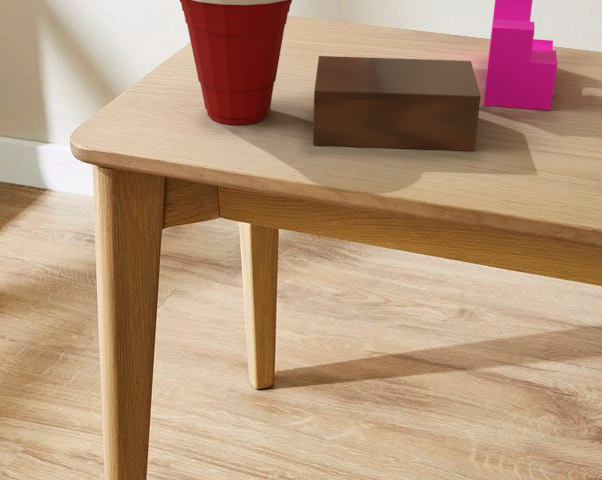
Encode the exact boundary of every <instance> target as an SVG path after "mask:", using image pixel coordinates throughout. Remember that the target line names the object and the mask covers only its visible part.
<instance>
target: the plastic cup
mask: <svg viewBox="0 0 602 480" xmlns="http://www.w3.org/2000/svg"><path fill="white" fill-rule="evenodd" d="M179 2H180V5H181V10H182V12H183V16H184V20H185V24H186V25H187V30H188V35H189V40H190V46H191V50H192V54H193V61H194V64H195V70H196V74H197V79H198V82H199V83H200V88H201V94H202V98H203V104H204V109H205V110H206V113H207V116H208V117H209V118H210V119H211V120H212V121H215V122H217V123H220V124H225V125H249V124H255V123H258V122H260V121H263V120H264V119H266V118H267V117H268V116H269V112H270V109H271V104H272V99H273V93H274V92H273V91H274V86H275V82H276V80H277V75H278V69H279V61H280V58H281V57H280V56H281V51H282V50H281V49H282V43H283V38H284V33H285V27H286V25H287V20H288V14H289V12H290V9H291V5H292V2H293V0H179Z"/></svg>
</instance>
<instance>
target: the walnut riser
mask: <svg viewBox="0 0 602 480" xmlns="http://www.w3.org/2000/svg"><path fill="white" fill-rule="evenodd" d="M473 67H474V66H473V64H472V60H453V59H425V58H423V59H422V58H395V57H394V58H393V57H391V58H390V57H366V56H365V57H362V56H361V57H359V56H333V55H332V56H331V55H319V56H318V57H317V66H316V75H315V83H314V89H313V122H312V123H313V127H312V130H313V133H312V145H313V146H326V147H327V146H330V147H331V146H333V147H354V148H355V147H357V148H358V147H359V148H385V149H408V150H409V149H413V150H439V151H465V152H468V151H469V152H475V148H476V147H475V146H476V141H477V140H476V139H477V138H476V137H477V132H478V123H479V114H480V105H481V98H482V97H481V93H480V89H479V86H478V82H477V78H476V74H475V70H474V68H473Z"/></svg>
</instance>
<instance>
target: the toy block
mask: <svg viewBox="0 0 602 480" xmlns="http://www.w3.org/2000/svg"><path fill="white" fill-rule="evenodd" d="M533 1H534V0H494V7H493V16H492V24H491V31H490V38H489V39H490V41H489V48H488V55H487V66H486V67H487V68H486V75H485V86H484V96H483V106H491V107H504V108H505V107H506V108H516V109H528V110H541V111H551V106H552V101H553V95H554V94H553V93H554V87H555V82H556V75H557V70H558V69H557V68H558V54H557V50H554V40H553V39H552V40H551V39H536V38H534V36H535V21H531V15H532V7H533Z"/></svg>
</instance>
